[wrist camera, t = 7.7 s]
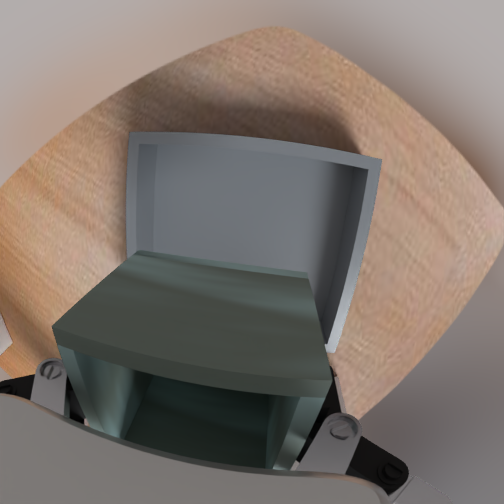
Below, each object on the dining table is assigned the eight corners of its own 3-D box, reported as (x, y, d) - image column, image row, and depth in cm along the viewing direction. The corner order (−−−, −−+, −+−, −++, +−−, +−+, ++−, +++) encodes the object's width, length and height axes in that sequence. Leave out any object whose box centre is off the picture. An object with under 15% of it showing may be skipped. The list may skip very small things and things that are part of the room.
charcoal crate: (327, 324, 30) (334, 352, 26) (150, 300, 31) (132, 323, 26) (362, 157, 24) (381, 159, 20) (153, 134, 25) (129, 131, 20)
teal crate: (278, 392, 14) (277, 492, 8) (149, 371, 14) (106, 457, 8) (307, 272, 11) (332, 380, 6) (138, 249, 12) (51, 326, 6)
